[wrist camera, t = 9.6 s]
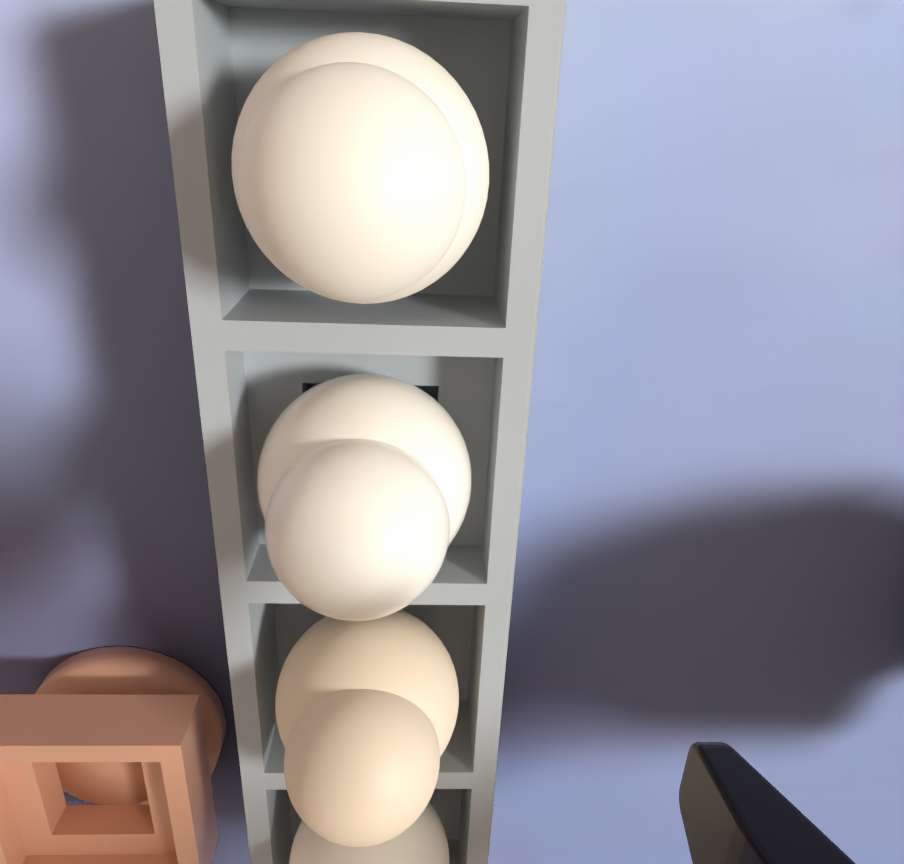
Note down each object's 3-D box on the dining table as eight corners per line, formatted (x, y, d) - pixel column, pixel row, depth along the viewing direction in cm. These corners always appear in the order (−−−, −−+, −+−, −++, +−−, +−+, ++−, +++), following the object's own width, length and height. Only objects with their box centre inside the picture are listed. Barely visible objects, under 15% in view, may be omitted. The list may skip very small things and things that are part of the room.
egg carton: (531, -1, 16) (628, -88, 8) (472, 798, 26) (492, 1077, 19) (220, -18, 15) (34, -123, 8) (284, 799, 26) (229, 1083, 18)
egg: (461, 514, 18) (474, 684, 13) (283, 510, 18) (226, 681, 13) (472, 348, 16) (492, 470, 11) (273, 340, 16) (201, 462, 11)
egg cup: (217, 647, 23) (180, 745, 19) (233, 783, 25) (203, 892, 22) (19, 645, 22) (-55, 745, 19) (55, 784, 25) (-4, 895, 21)
